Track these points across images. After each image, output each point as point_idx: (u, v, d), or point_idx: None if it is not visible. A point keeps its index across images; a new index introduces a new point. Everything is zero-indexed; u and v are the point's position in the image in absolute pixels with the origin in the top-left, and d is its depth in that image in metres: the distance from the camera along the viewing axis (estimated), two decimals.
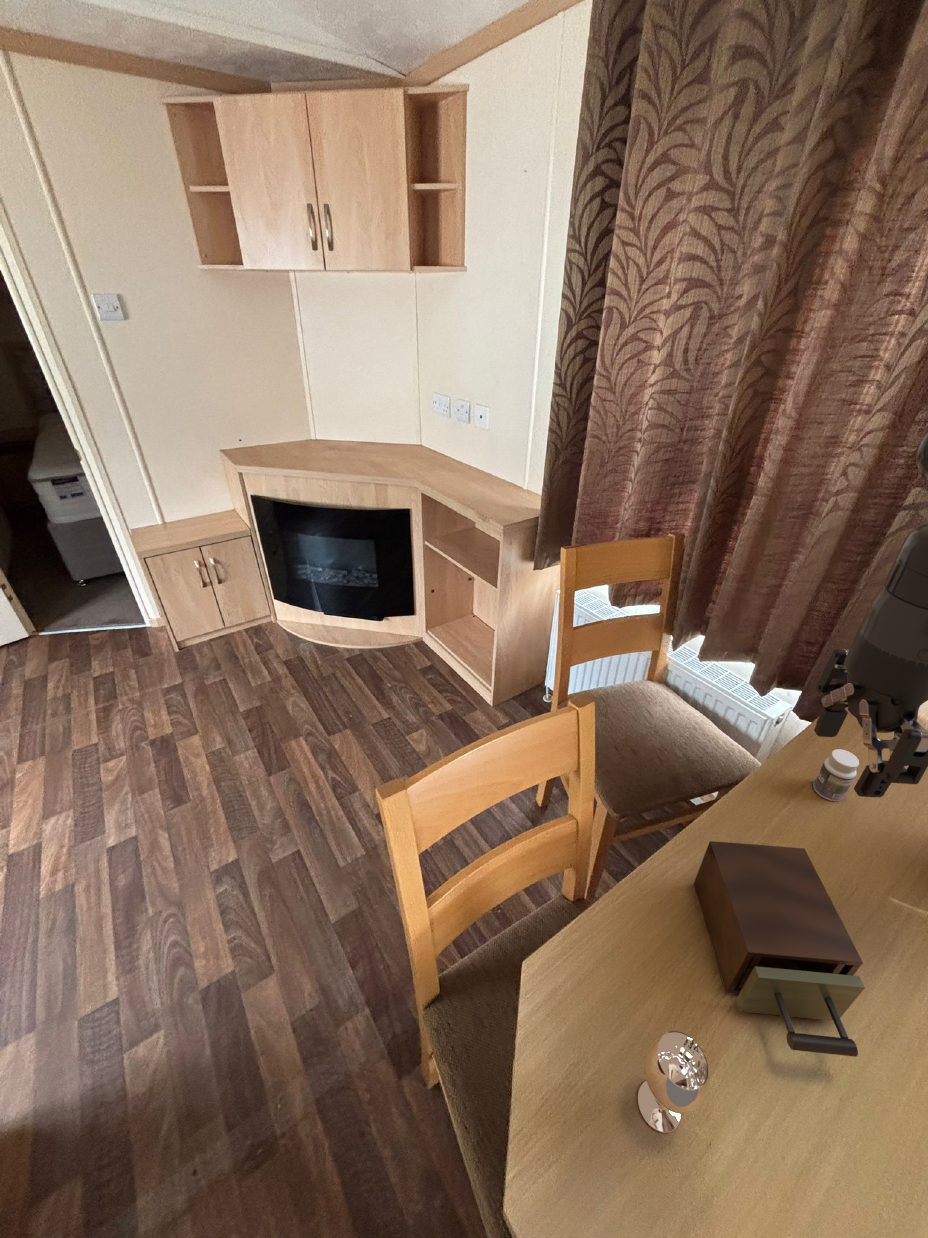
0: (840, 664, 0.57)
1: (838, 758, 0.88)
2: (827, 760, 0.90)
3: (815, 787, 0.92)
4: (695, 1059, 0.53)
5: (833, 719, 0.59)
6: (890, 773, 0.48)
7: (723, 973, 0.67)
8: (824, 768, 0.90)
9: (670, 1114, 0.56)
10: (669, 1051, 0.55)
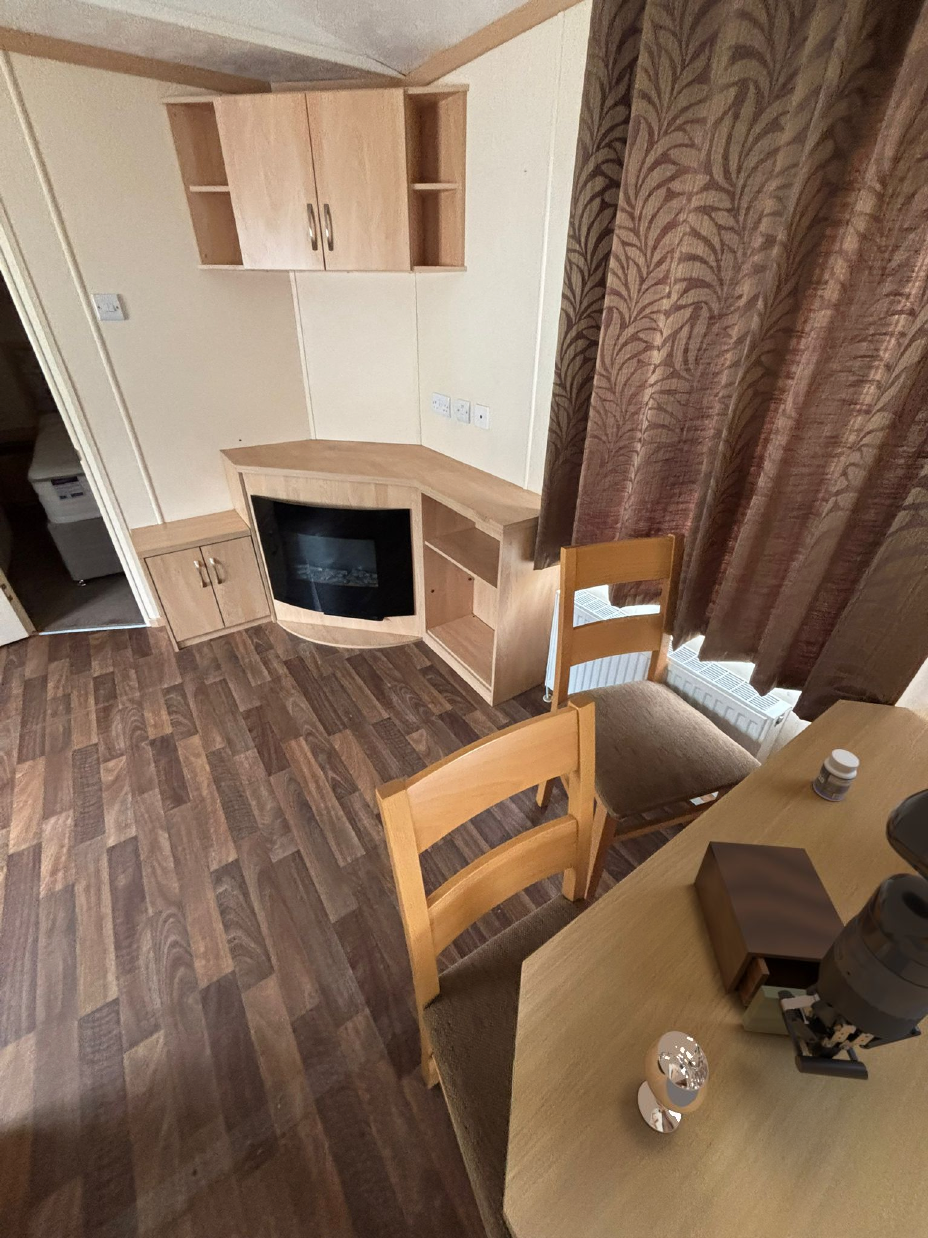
0: None
1: (838, 758, 0.88)
2: (827, 760, 0.90)
3: (815, 787, 0.92)
4: (695, 1059, 0.53)
5: None
6: None
7: (723, 973, 0.67)
8: (824, 768, 0.90)
9: (670, 1114, 0.56)
10: (669, 1051, 0.55)
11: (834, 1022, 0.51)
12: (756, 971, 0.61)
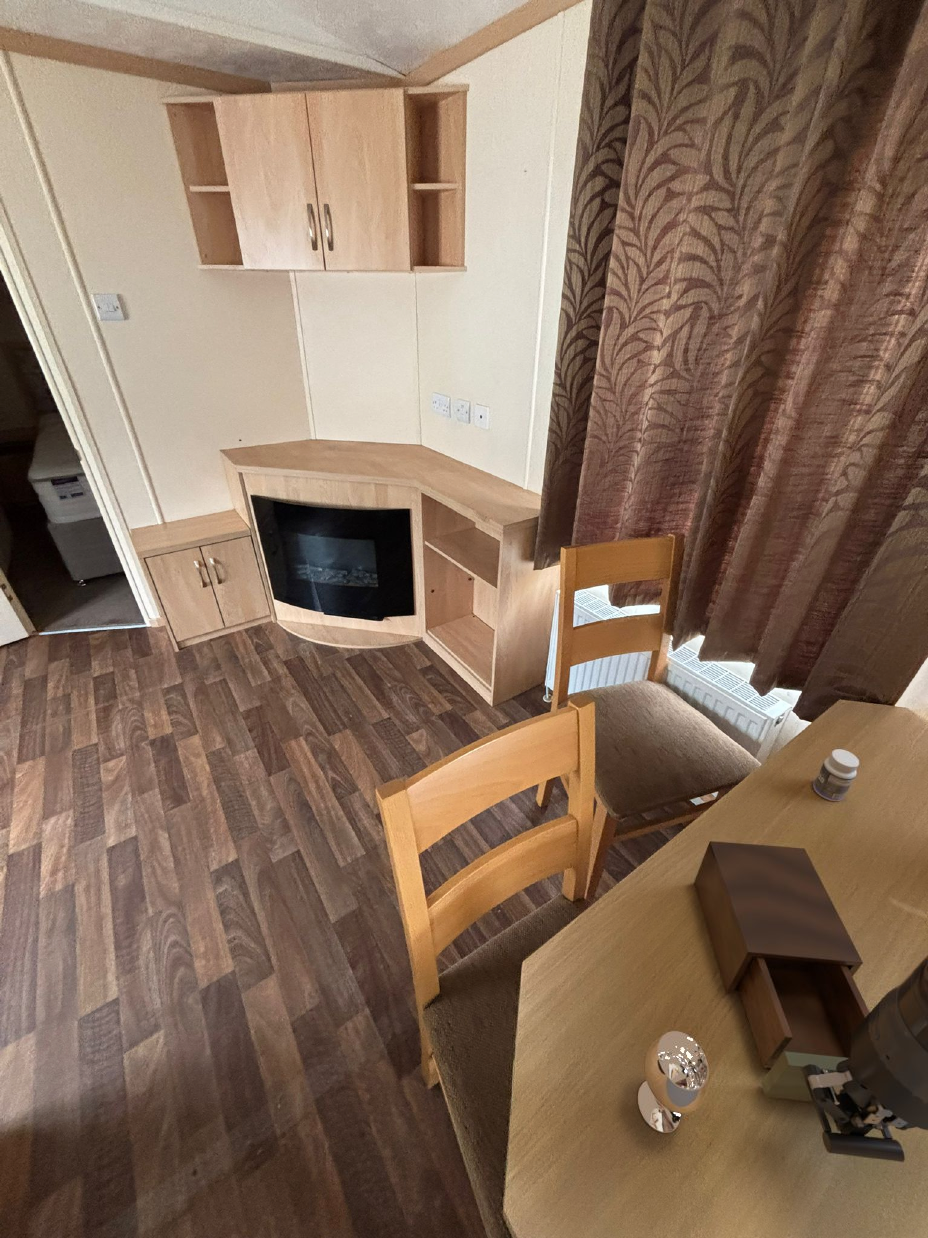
0: None
1: (838, 758, 0.88)
2: (827, 760, 0.90)
3: (815, 787, 0.92)
4: (695, 1059, 0.53)
5: None
6: None
7: (723, 973, 0.67)
8: (824, 768, 0.90)
9: (670, 1114, 0.56)
10: (669, 1051, 0.55)
11: (868, 1103, 0.46)
12: (778, 1032, 0.56)
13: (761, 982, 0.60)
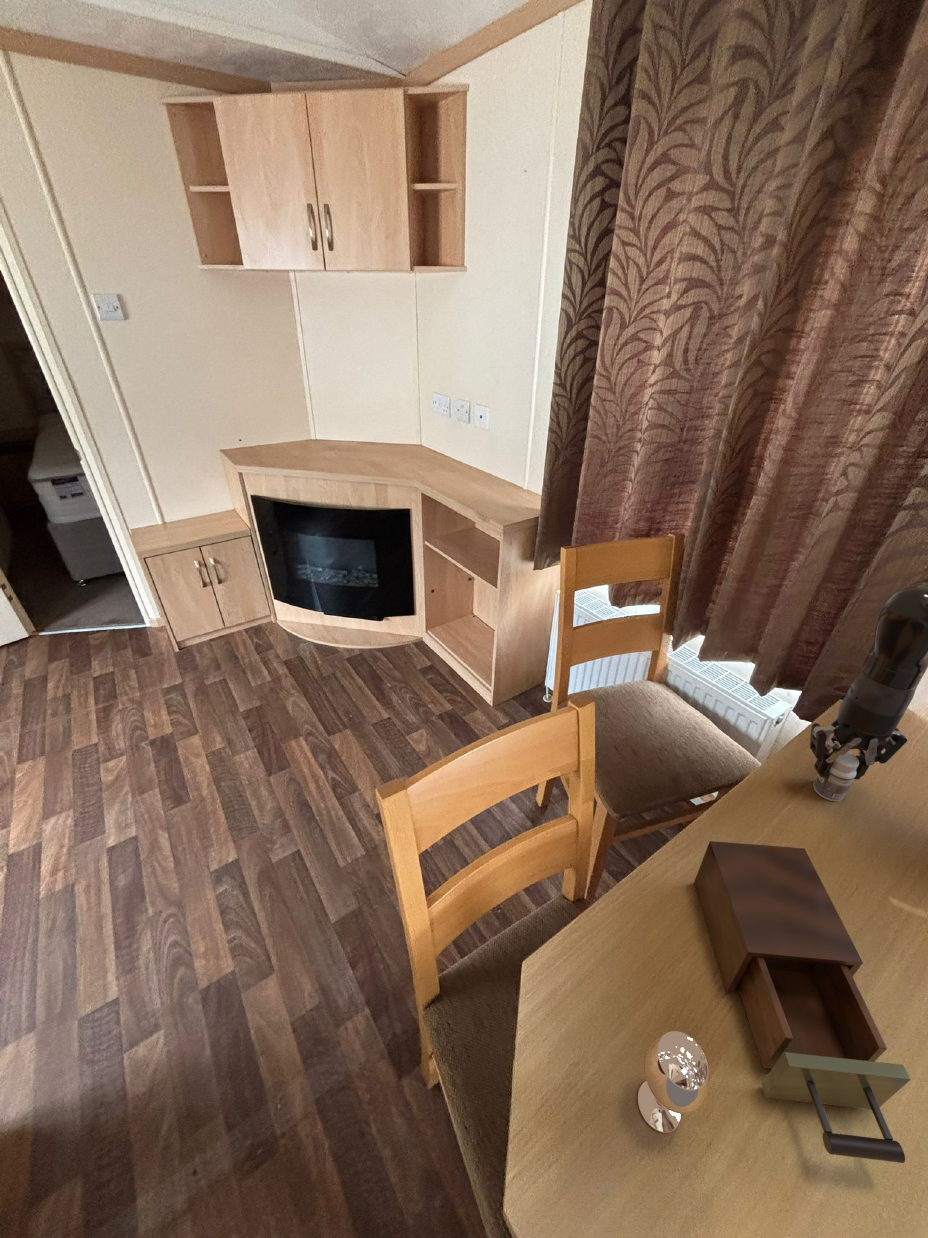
0: None
1: (838, 758, 0.88)
2: None
3: (815, 787, 0.92)
4: (695, 1059, 0.53)
5: None
6: None
7: (723, 973, 0.67)
8: None
9: (670, 1114, 0.56)
10: (669, 1051, 0.55)
11: (848, 741, 0.85)
12: (778, 1033, 0.56)
13: (761, 983, 0.60)
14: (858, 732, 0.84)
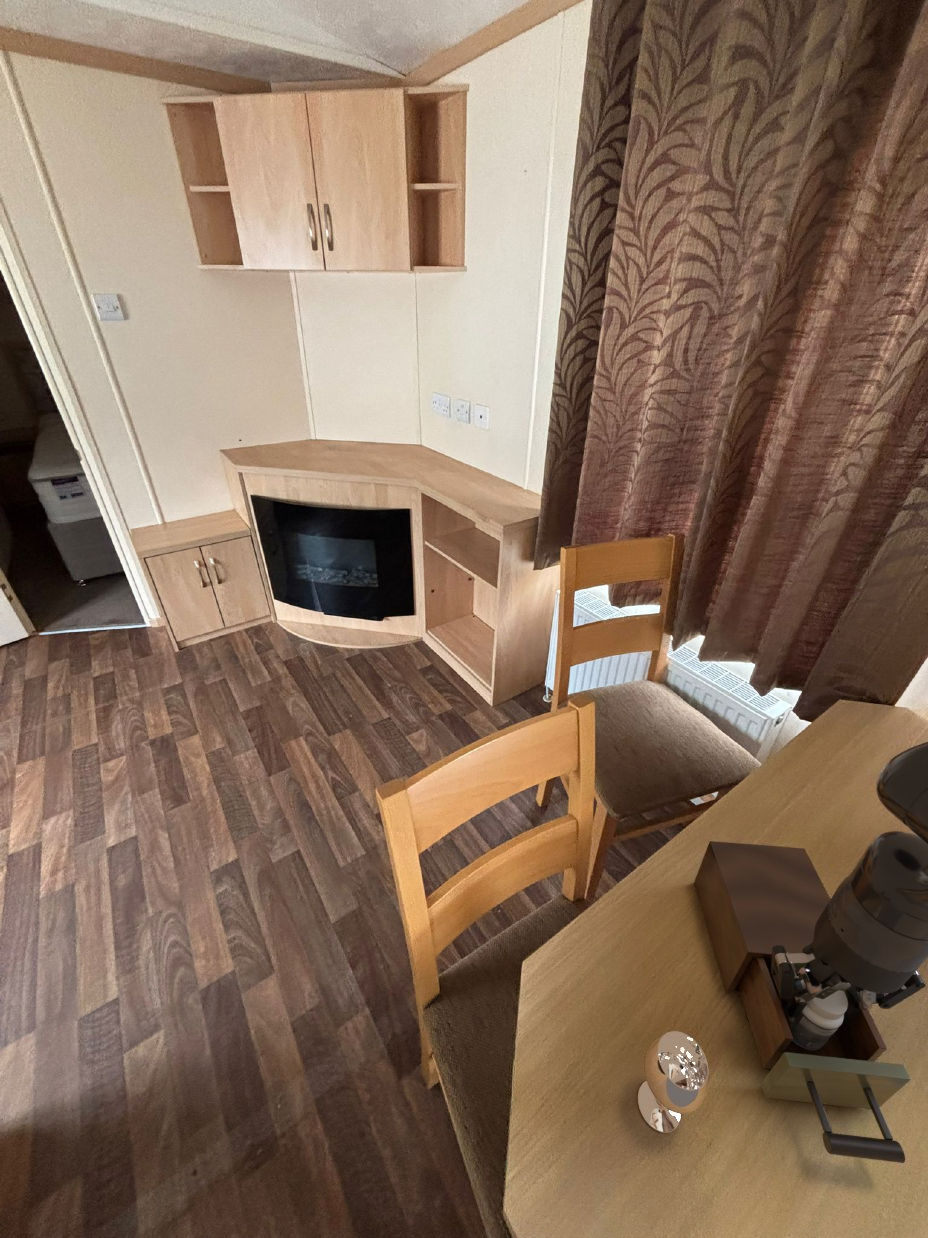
0: None
1: None
2: None
3: None
4: (695, 1059, 0.53)
5: None
6: None
7: (723, 973, 0.67)
8: None
9: (670, 1114, 0.56)
10: (669, 1051, 0.55)
11: (829, 981, 0.53)
12: (778, 1033, 0.56)
13: (761, 983, 0.60)
14: None
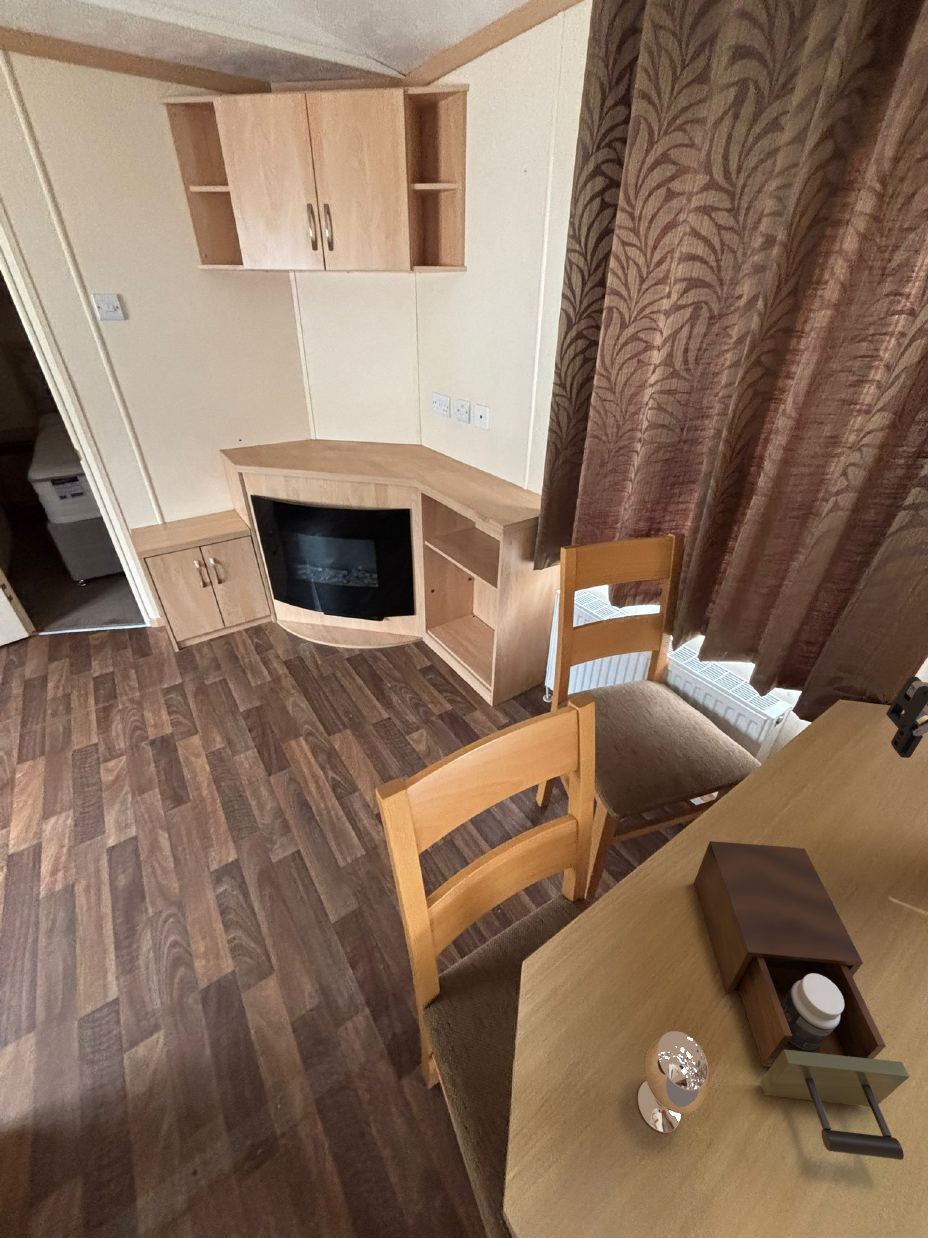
0: None
1: (812, 993, 0.57)
2: (796, 989, 0.59)
3: None
4: (695, 1059, 0.53)
5: None
6: None
7: (723, 973, 0.67)
8: (791, 1002, 0.58)
9: (670, 1114, 0.56)
10: (669, 1051, 0.55)
11: None
12: (777, 1031, 0.56)
13: (761, 981, 0.60)
14: None
